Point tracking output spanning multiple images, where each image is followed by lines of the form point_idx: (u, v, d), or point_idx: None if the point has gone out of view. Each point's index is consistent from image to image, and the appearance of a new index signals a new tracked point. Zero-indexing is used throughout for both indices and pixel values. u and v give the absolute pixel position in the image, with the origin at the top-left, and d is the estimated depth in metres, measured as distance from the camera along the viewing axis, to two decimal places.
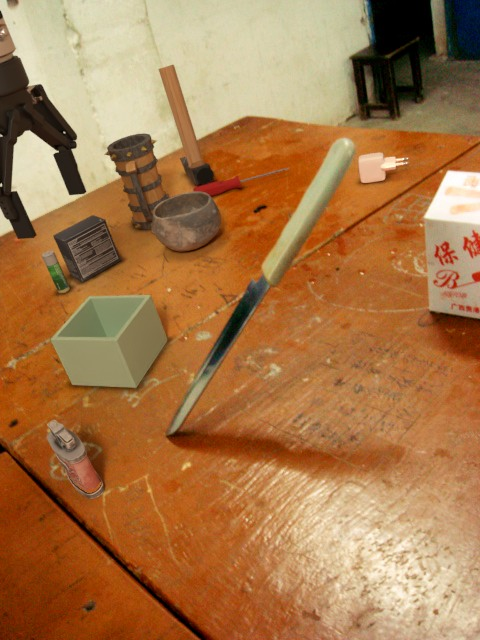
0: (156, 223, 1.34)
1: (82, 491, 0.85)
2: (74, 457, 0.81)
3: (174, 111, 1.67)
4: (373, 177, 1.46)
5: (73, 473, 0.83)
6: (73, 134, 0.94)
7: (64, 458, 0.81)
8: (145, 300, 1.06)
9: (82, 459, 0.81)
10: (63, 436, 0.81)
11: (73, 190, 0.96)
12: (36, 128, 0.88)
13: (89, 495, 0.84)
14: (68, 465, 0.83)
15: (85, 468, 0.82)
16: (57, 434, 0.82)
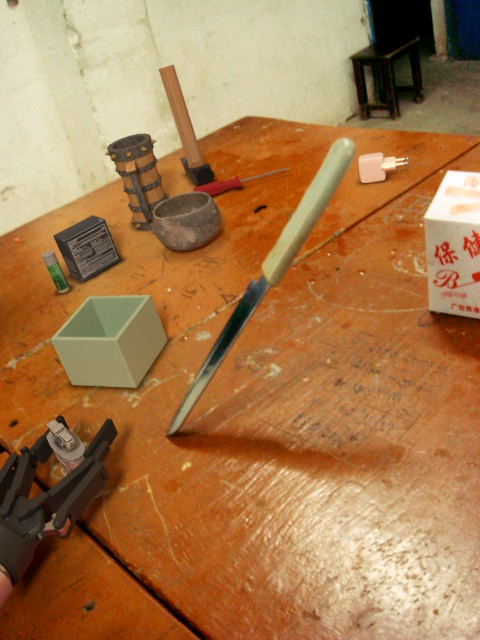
0: (156, 223, 1.34)
1: None
2: (73, 457, 0.81)
3: (174, 111, 1.67)
4: (373, 177, 1.46)
5: None
6: (104, 480, 0.80)
7: (64, 458, 0.81)
8: (145, 300, 1.06)
9: (82, 459, 0.81)
10: (63, 436, 0.81)
11: None
12: None
13: None
14: (68, 465, 0.83)
15: None
16: (57, 434, 0.82)
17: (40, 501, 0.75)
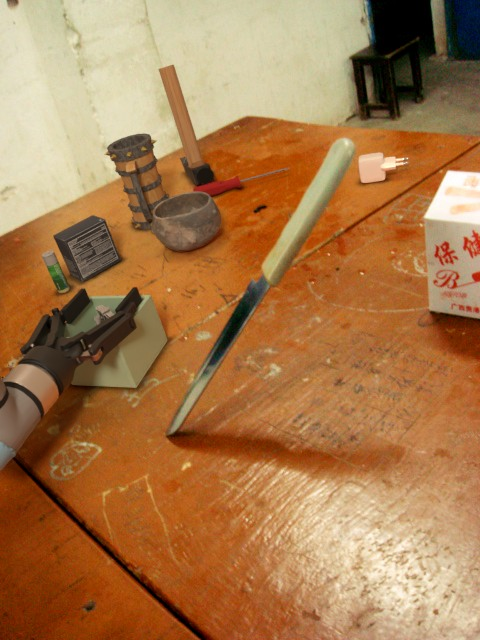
0: (156, 223, 1.34)
1: None
2: None
3: (174, 111, 1.67)
4: (373, 177, 1.46)
5: None
6: None
7: None
8: (145, 300, 1.06)
9: None
10: (109, 315, 1.02)
11: None
12: None
13: None
14: None
15: None
16: (104, 314, 1.03)
17: (78, 336, 0.95)
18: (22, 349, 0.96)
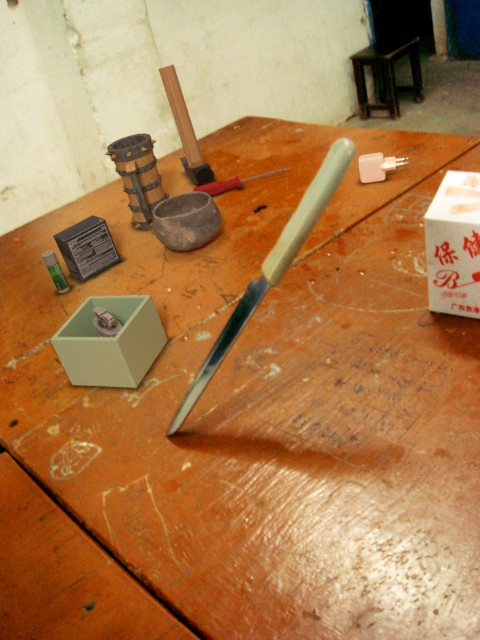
0: (156, 223, 1.34)
1: None
2: (113, 333, 1.02)
3: (174, 111, 1.67)
4: (373, 177, 1.46)
5: None
6: None
7: (106, 334, 1.03)
8: (145, 300, 1.06)
9: None
10: (106, 316, 1.03)
11: None
12: None
13: None
14: None
15: None
16: (101, 315, 1.04)
17: None
18: None
